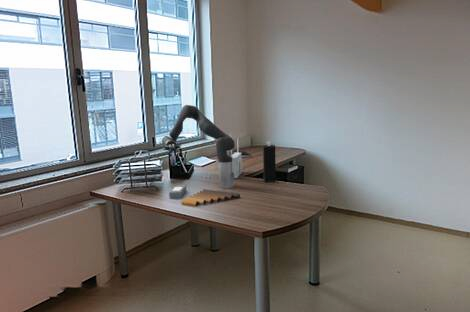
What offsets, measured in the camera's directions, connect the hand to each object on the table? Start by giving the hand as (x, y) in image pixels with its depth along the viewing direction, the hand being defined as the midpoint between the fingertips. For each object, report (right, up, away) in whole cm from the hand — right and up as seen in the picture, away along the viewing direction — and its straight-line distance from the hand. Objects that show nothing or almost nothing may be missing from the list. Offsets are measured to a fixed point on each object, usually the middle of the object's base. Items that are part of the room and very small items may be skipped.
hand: (173, 149), depth 241 cm
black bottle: (+66, -22, +10) cm, 70 cm away
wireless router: (+43, -5, +106) cm, 115 cm away
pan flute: (+28, -32, -30) cm, 52 cm away
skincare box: (+43, -19, +29) cm, 55 cm away
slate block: (+6, -26, -7) cm, 27 cm away
